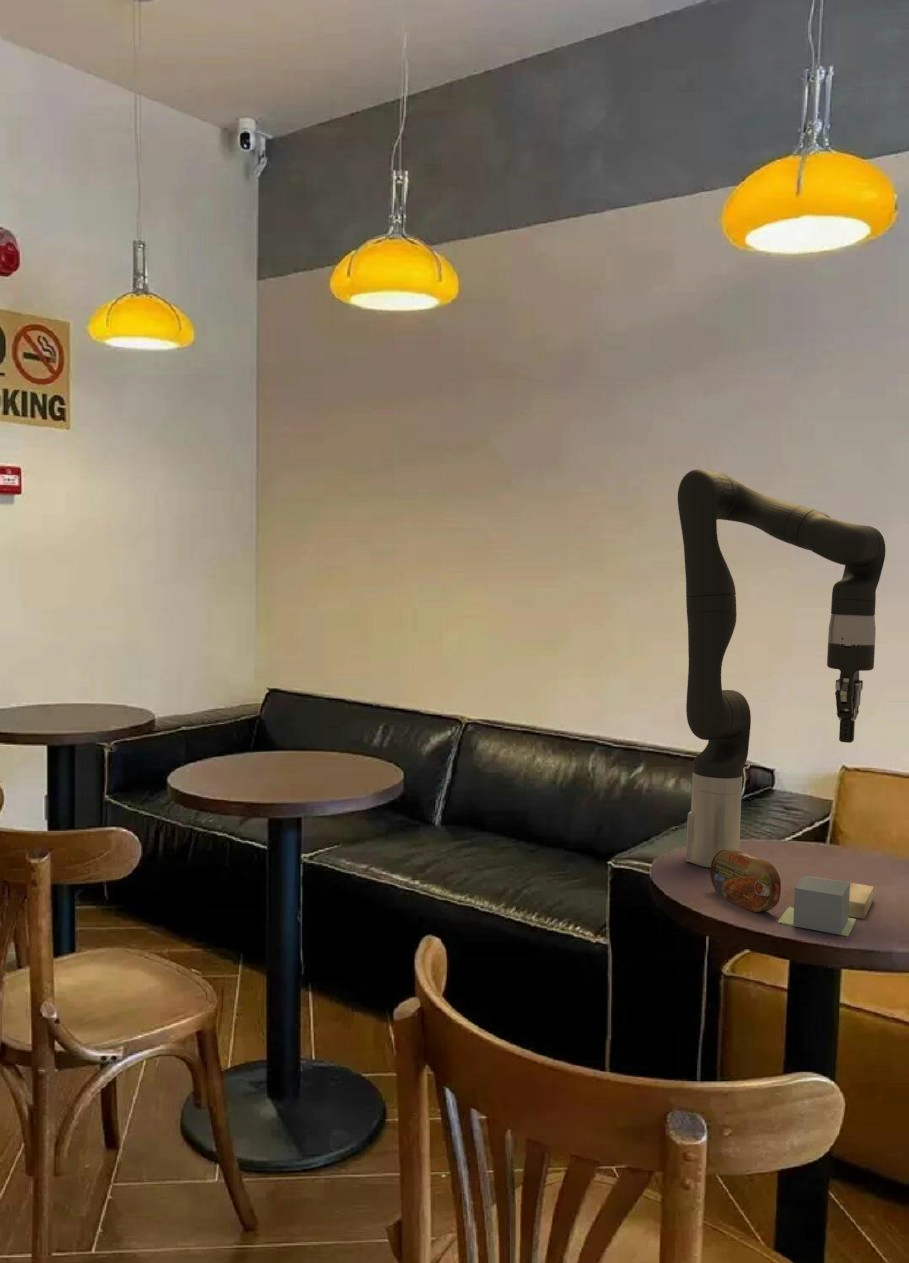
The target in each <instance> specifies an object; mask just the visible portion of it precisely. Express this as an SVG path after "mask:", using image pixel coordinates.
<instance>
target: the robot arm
mask: <svg viewBox="0 0 909 1263" xmlns="http://www.w3.org/2000/svg"><path fill="white" fill-rule="evenodd" d="M677 507H678V508H677V509H678V514H679V515H678V516H679V521H680V527H681V534H682V535H681V536H682V542H683V552H684V553H683V557H684V571H685V572H684V573H685V595H686V596H685V597H686V598H685V601H686V602H685V604H686V619H687V636H688V637H687V638H688V639H687V640H688V641H687V642H688V645H687V646H688V649H687V650H688V652H687V653H688V654H687V655H688V669H687V670H688V672H687V687H686V703H685V704H686V705H685V706H686V707H685V708H686V710H685V711H686V720H687V724H688V727H689V729H690V731H691V732H692V734H693V735H694V736H695V737H696V738H698V739H700V740H703V741H707V744H706V746H705V747H704V749H703V750H702V751H701V752H699V753H698V755H696V756H695V757H694V759H693V763H692V778H691V780H692V782H691V783H692V784H691V807H690V811H689V812H687V822H686V823H687V825H686V844H685V846H686V847H685V849H686V851H685V862H687V863H691V864H694V865H697V866H700V867H703V868H709V869H711V863H712V860H713V858H714V856H715V855H716V853H718V852H719V851H721V850H736V851H740V838H741V837H740V835H741V816H742V815H741V813H742V811H741V810H742V795H743V793H742V788H743V773H744V772H743V770H744V766H745V765H746V762H747V759H748V755H749V745H750V736H751V725H752V724H751V723H752V722H751V721H752V718H751V716H752V714H751V713H752V712H751V708H750V705H749V703H748V702H749V701H748V700H747V699H746V697H745V696H744V695H743V694H742V693H741V692H739V691H736V690H734V689H723V687H722V686H723V685H722V667H723V661H724V658H725V654H726V651H727V649H728V647H729V644H730V641H731V640H732V637H733V634H734V631H735V628H736V625H737V624H736V623H737V613H738V612H737V596H736V595H737V593H736V592H737V591H736V586H735V582H734V579H733V576H732V574H731V571H730V569H729V567H728V564H727V561H726V560H725V557H724V555H723V553H722V550H721V548H720V543H719V539H718V538H719V537H718V527H717V524H718V523H717V520H723V521H731V522H735V523H743V524H746V525H749V526H752V527H754V528H757V529H759V530H761V531H762V532H764V533H766V534H767V535H769V536H771V537H773V538H775V539H777V540H780V541H782V542H785V543H787V544H789V545H793V546H794V547H798V548H800V549H804V550H807V551H811V552H813V553H814V554H816V555H818V556H819V557H821V558H824V559H826V560H827V561H831V562H833V563H836V564H839V565H842V566H844V570H843V574H842V578H841V580H839V581H837V582H835V583H834V584H833V588H832V592H831V602H830V603H831V606H830V614H831V615H830V618H829V623H828V634H827V635H828V636H827V653H826V654H827V655H826V656H827V657H826V658H827V659H826V666H827V667H828V668H829V669H833V670H839V672H840V673H839V678H838V679H836V680H835V685H834V686H835V693H834V694H835V702H836V703H835V704H836V716H837V718H838V720H839V734H838V735H839V737H838V739H839V741H840V742H841V743H849V744H850V743H853V742H854V741H855V730H856V729H855V726H856V721H857V718H858V714H859V712H860V711H859V709H860V706H861V700H862V699H861V698H862V697H861V696H862V691H863V689H864V688H863V687H864V680H861V679H860V671H861V672H864V671H865V672H867V671H872V670H873V669H874V668H875V653H876V652H875V650H876V648H875V647H876V617H875V616H876V601H877V600H876V598H877V597H876V596H877V594H876V592H877V588H878V585H879V582H880V579H881V575H882V571H883V567H884V563H885V558H886V551H887V549H886V542H885V539H884V536H883V534H882V533H881V532H880V530H878V529H877V528H876V527H874V526H870V525H865V524H863V525H862V524H856V523H850V522H847V521H842V520H838V519H837V518H836V519H835V518H832V517H831V516H829V515H828V514H826V513H825V512H823V511H819V510H817V509H814V508H813V509H812V508H810V507H806V506H805V505H800V504H798V503H795V502H791V501H787V500H782V499H779V498H776V497H772V496H770V495H766V494H764V493H763V492H759V491H758V490H755V489H753V488H751V487H750V486H747V485H746V484H744V483H742V482H740V481H738V480H736V478H733V477H731V476H730V475H728V474H726V473H724V472H719V471H713V470H710V469H709V470H708V469H702V468H699V469H692V470H690V471H689V472H687V473H685V475H684V476H683V477H682V479H681V481H680V483H679V486H678V491H677Z"/></svg>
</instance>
